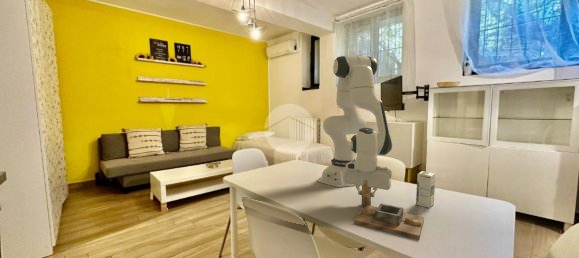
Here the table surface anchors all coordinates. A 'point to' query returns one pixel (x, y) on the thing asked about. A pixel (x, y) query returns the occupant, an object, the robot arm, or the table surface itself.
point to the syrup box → (425, 189)
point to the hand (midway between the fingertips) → (366, 195)
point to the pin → (366, 194)
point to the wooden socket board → (391, 220)
